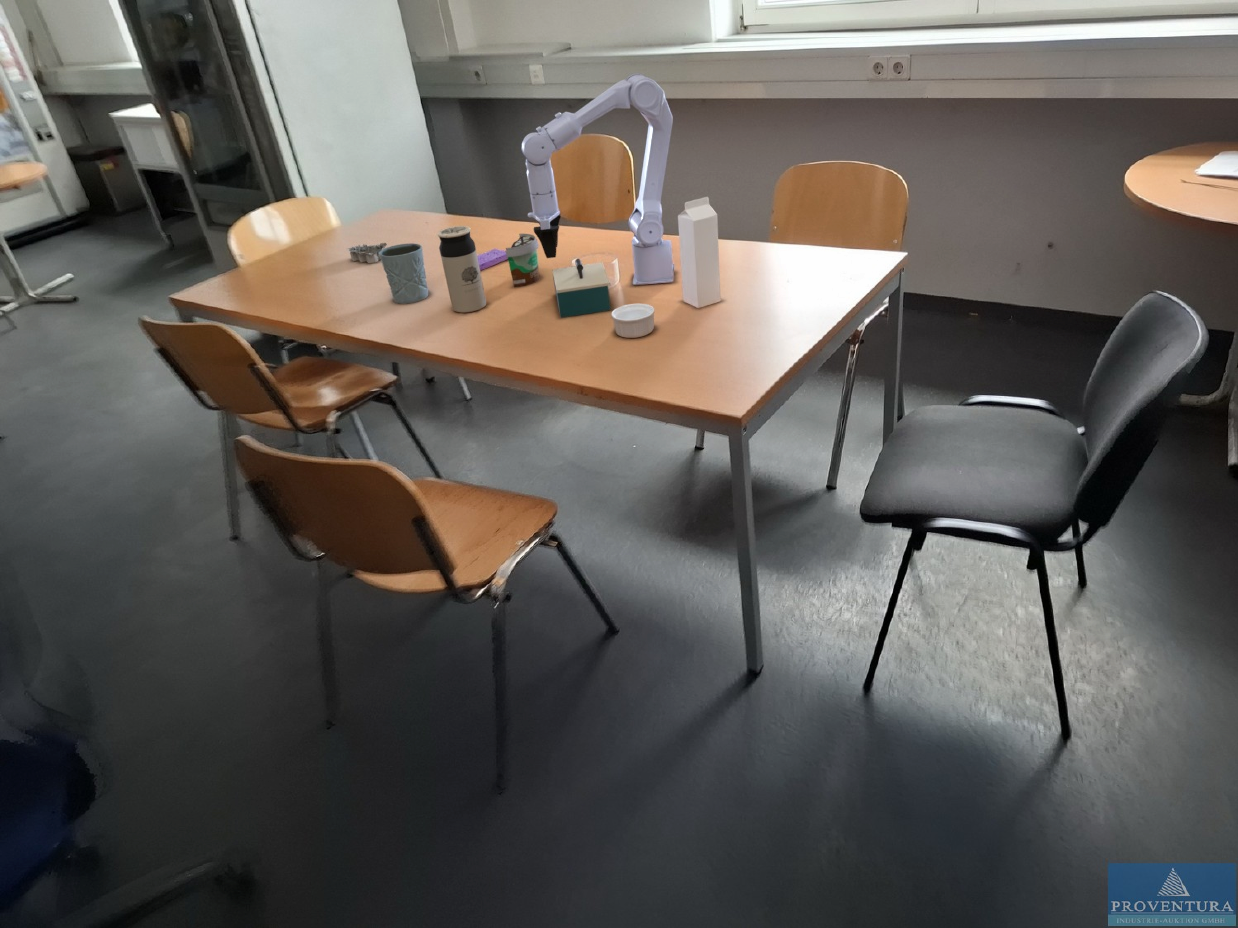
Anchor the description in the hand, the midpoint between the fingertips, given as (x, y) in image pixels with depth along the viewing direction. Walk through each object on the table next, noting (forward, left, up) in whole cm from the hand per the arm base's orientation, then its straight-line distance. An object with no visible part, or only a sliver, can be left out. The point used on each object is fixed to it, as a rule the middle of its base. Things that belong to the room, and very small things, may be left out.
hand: (552, 252), depth 187 cm
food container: (+9, -12, -10) cm, 18 cm away
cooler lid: (-7, +6, -5) cm, 10 cm away
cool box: (-6, +7, -10) cm, 14 cm away
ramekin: (-19, +25, -10) cm, 33 cm away
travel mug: (+21, +4, -10) cm, 23 cm away
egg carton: (+61, -41, -10) cm, 74 cm away
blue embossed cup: (+38, -6, -10) cm, 39 cm away
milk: (-33, +11, -10) cm, 37 cm away
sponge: (+24, -28, -10) cm, 38 cm away
